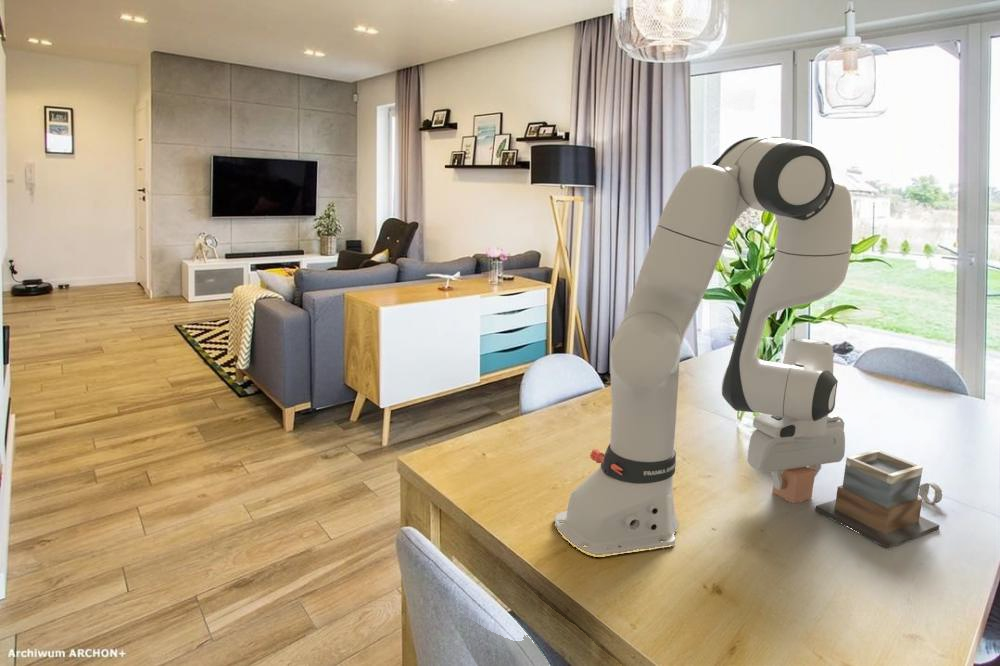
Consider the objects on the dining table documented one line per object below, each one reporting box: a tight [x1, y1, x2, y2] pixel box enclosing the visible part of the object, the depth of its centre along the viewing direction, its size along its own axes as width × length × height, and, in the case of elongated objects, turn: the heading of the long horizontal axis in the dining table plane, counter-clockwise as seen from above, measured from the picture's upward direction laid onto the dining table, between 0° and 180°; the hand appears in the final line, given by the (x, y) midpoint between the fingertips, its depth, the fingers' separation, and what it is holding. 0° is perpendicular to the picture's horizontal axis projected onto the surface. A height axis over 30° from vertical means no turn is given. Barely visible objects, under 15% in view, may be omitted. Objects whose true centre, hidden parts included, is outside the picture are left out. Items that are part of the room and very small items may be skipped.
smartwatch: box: [918, 482, 943, 505], centre depth 117 cm, size 4×2×4 cm, turn 14°
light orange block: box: [771, 466, 815, 504], centre depth 119 cm, size 5×5×6 cm
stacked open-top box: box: [814, 448, 940, 550], centre depth 110 cm, size 14×14×12 cm
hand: (793, 485), depth 119 cm, fingers closed on light orange block, 5 cm apart
